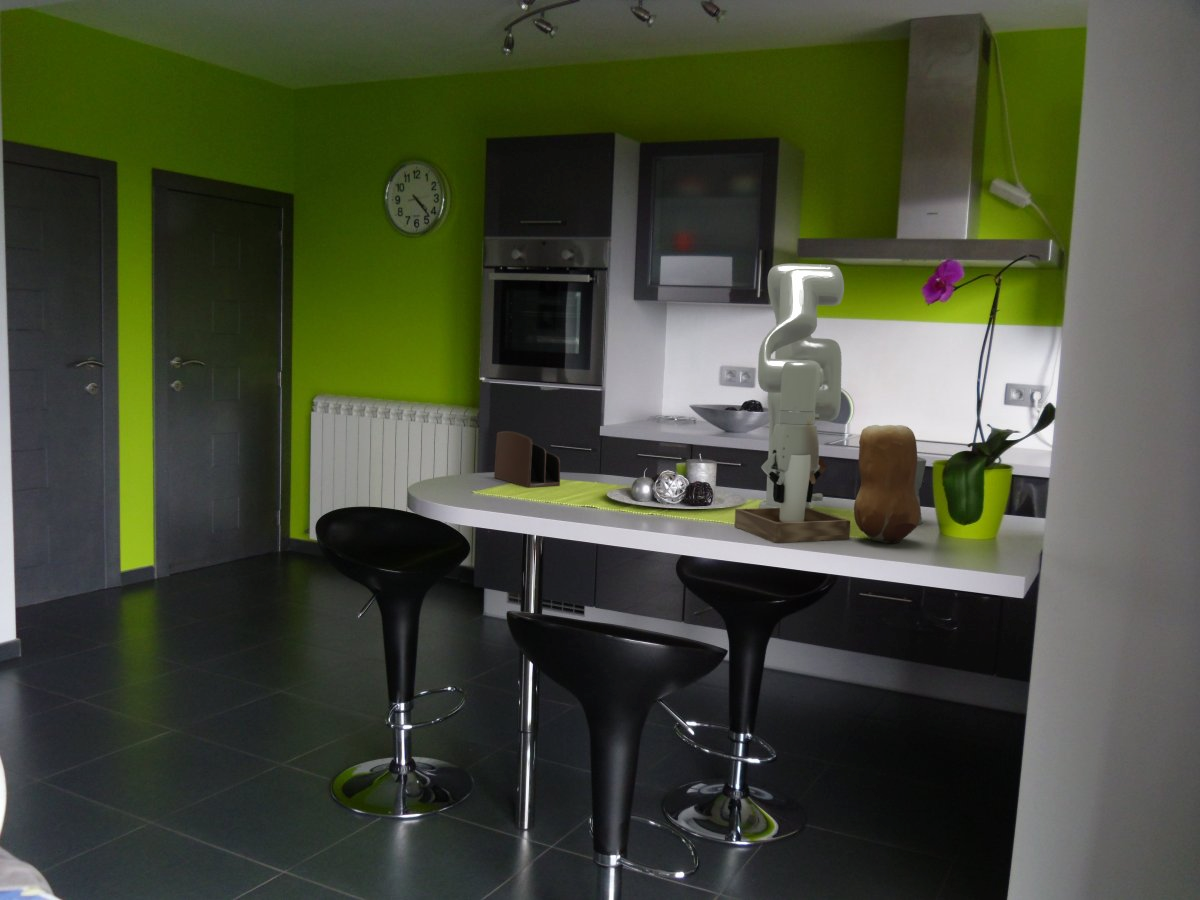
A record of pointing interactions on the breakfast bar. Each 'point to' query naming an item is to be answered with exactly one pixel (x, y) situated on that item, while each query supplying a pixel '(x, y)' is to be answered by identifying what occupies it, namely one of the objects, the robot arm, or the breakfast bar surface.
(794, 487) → the drinking glass
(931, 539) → the breakfast bar surface
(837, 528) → the walnut tray
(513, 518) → the breakfast bar surface
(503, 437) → the letter holder
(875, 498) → the butternut squash
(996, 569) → the breakfast bar surface
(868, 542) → the breakfast bar surface
